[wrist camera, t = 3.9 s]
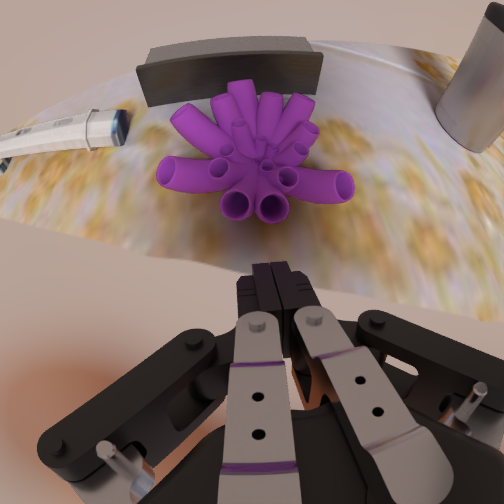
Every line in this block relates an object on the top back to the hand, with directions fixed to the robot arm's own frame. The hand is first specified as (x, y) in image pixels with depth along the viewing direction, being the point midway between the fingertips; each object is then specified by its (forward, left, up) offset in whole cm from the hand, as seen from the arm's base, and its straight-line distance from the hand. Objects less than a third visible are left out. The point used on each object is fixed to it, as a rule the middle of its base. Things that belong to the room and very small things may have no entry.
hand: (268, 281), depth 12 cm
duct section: (+1, -26, -8) cm, 27 cm away
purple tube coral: (0, -12, -8) cm, 15 cm away
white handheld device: (+25, -19, -9) cm, 32 cm away
